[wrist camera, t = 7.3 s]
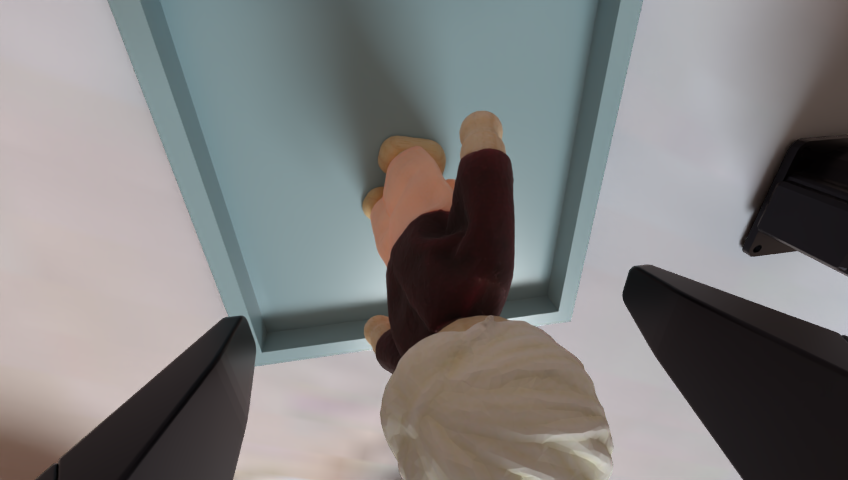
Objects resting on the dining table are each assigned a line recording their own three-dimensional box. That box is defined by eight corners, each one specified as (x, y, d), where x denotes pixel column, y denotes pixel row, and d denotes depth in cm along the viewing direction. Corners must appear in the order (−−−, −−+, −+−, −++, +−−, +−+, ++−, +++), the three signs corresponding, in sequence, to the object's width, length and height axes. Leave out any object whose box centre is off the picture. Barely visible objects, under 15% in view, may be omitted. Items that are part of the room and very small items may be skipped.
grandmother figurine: (432, 257, 18) (560, 630, 7) (349, 250, 17) (349, 670, 6) (477, 86, 14) (889, 306, 3) (375, 64, 13) (491, 273, 2)
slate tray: (623, -65, 13) (660, -76, 11) (554, 299, 21) (570, 321, 19) (116, -63, 11) (78, -76, 9) (256, 339, 19) (248, 367, 17)
